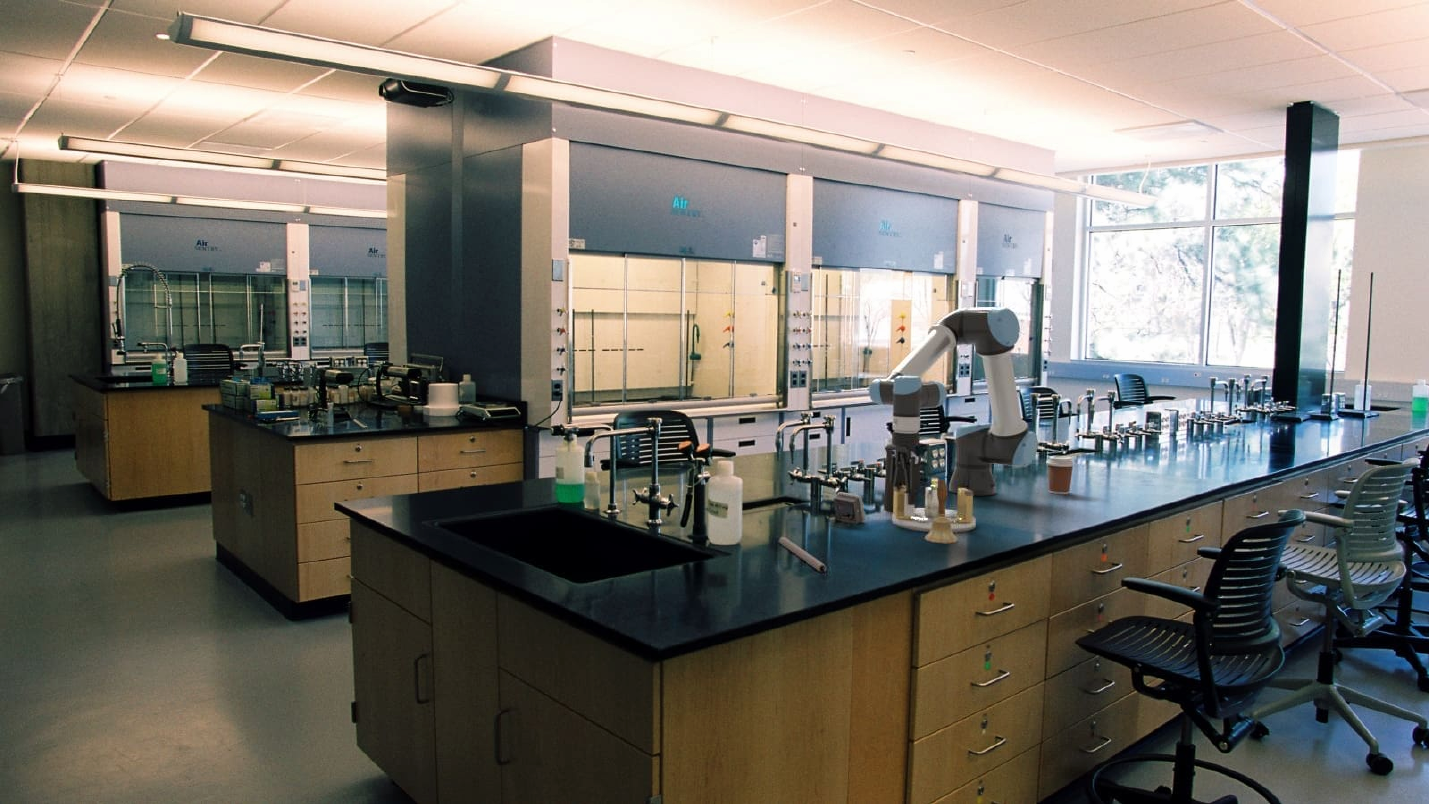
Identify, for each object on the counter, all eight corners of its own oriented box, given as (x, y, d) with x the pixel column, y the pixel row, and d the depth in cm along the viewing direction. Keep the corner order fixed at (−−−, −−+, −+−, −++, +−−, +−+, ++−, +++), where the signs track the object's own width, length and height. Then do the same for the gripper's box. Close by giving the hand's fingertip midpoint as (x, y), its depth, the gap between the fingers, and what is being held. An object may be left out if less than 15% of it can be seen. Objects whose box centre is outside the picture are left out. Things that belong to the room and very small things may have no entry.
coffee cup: (1069, 490, 308) (1070, 455, 307) (1077, 495, 299) (1078, 459, 298) (1041, 489, 309) (1043, 455, 308) (1048, 494, 300) (1050, 459, 299)
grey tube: (818, 573, 205) (818, 564, 205) (779, 544, 231) (779, 536, 231) (826, 572, 206) (826, 564, 205) (786, 544, 232) (786, 536, 232)
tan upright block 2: (952, 519, 251) (953, 487, 250) (967, 518, 252) (968, 487, 251) (961, 523, 246) (962, 491, 245) (976, 523, 246) (977, 491, 246)
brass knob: (941, 511, 261) (942, 481, 261) (926, 510, 262) (927, 480, 262) (941, 507, 267) (942, 478, 266) (926, 506, 268) (927, 477, 267)
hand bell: (951, 545, 231) (953, 483, 229) (920, 540, 235) (922, 480, 234) (961, 538, 238) (963, 478, 236) (930, 534, 242) (932, 475, 241)
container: (915, 508, 276) (916, 443, 275) (908, 513, 268) (910, 447, 267) (887, 505, 280) (888, 441, 278) (879, 510, 272) (881, 445, 270)
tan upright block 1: (908, 515, 256) (909, 484, 255) (916, 518, 251) (917, 487, 251) (890, 516, 254) (891, 485, 253) (897, 519, 250) (898, 488, 249)
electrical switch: (866, 522, 256) (864, 494, 254) (856, 526, 253) (854, 498, 251) (842, 518, 262) (841, 490, 260) (832, 522, 259) (831, 494, 257)
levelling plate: (880, 515, 265) (881, 479, 264) (953, 513, 269) (954, 477, 268) (910, 534, 242) (912, 494, 241) (990, 531, 246) (991, 492, 245)
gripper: (878, 427, 259) (876, 507, 261) (910, 435, 241) (907, 521, 243) (902, 427, 261) (900, 506, 263) (935, 435, 243) (932, 519, 245)
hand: (903, 513), depth 253 cm, fingers open, 6 cm apart
